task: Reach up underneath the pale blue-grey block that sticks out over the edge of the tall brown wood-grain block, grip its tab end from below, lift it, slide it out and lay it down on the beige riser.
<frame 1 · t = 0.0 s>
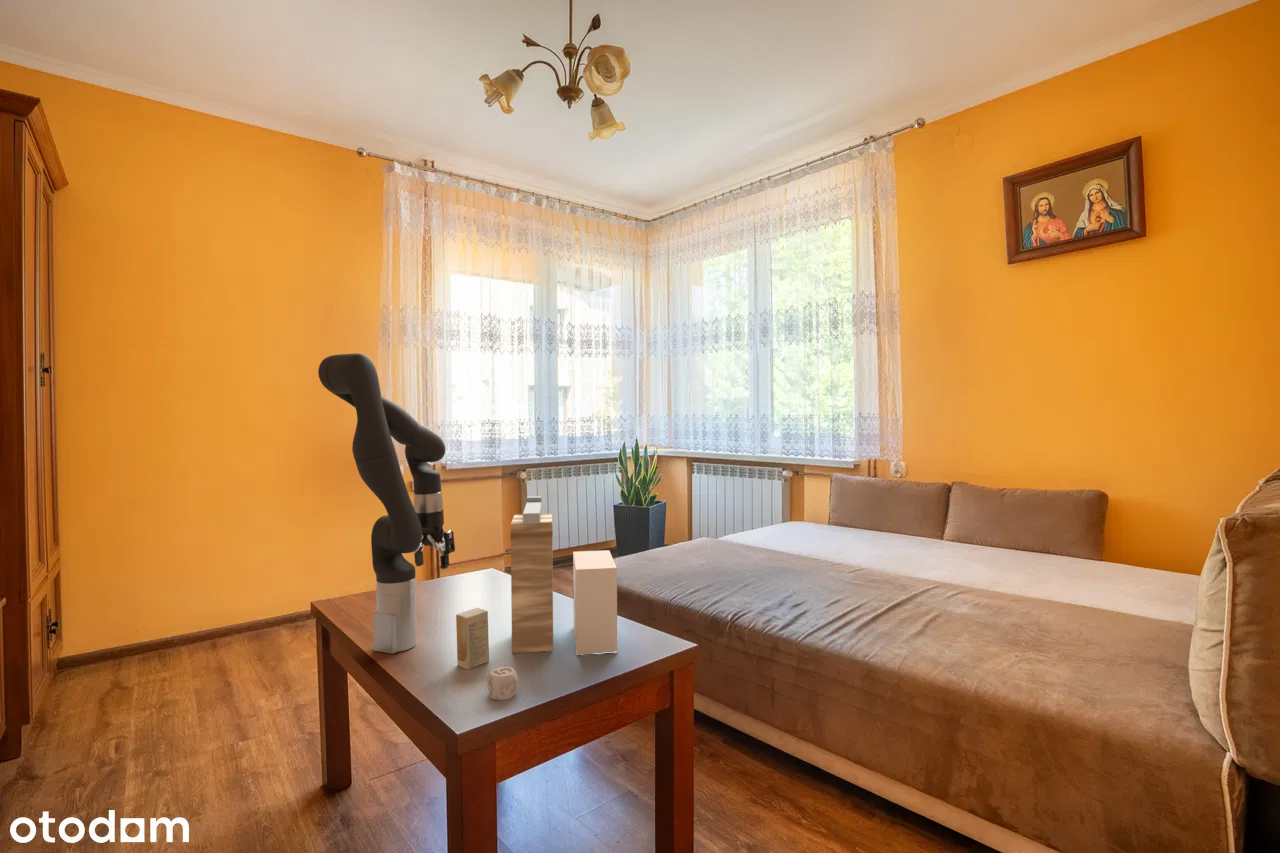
hand: (432, 566, 163), 17 cm above the table, tool pointing down, fingers open, 8 cm apart
beige riser: (594, 639, 155), on the table
tall brown wood-grain block: (533, 641, 154), on the table
skincare box: (472, 664, 140), on the table
die: (502, 696, 124), on the table
pale blue-grey block: (533, 515, 157), point 32 cm above the table, touching tall brown wood-grain block
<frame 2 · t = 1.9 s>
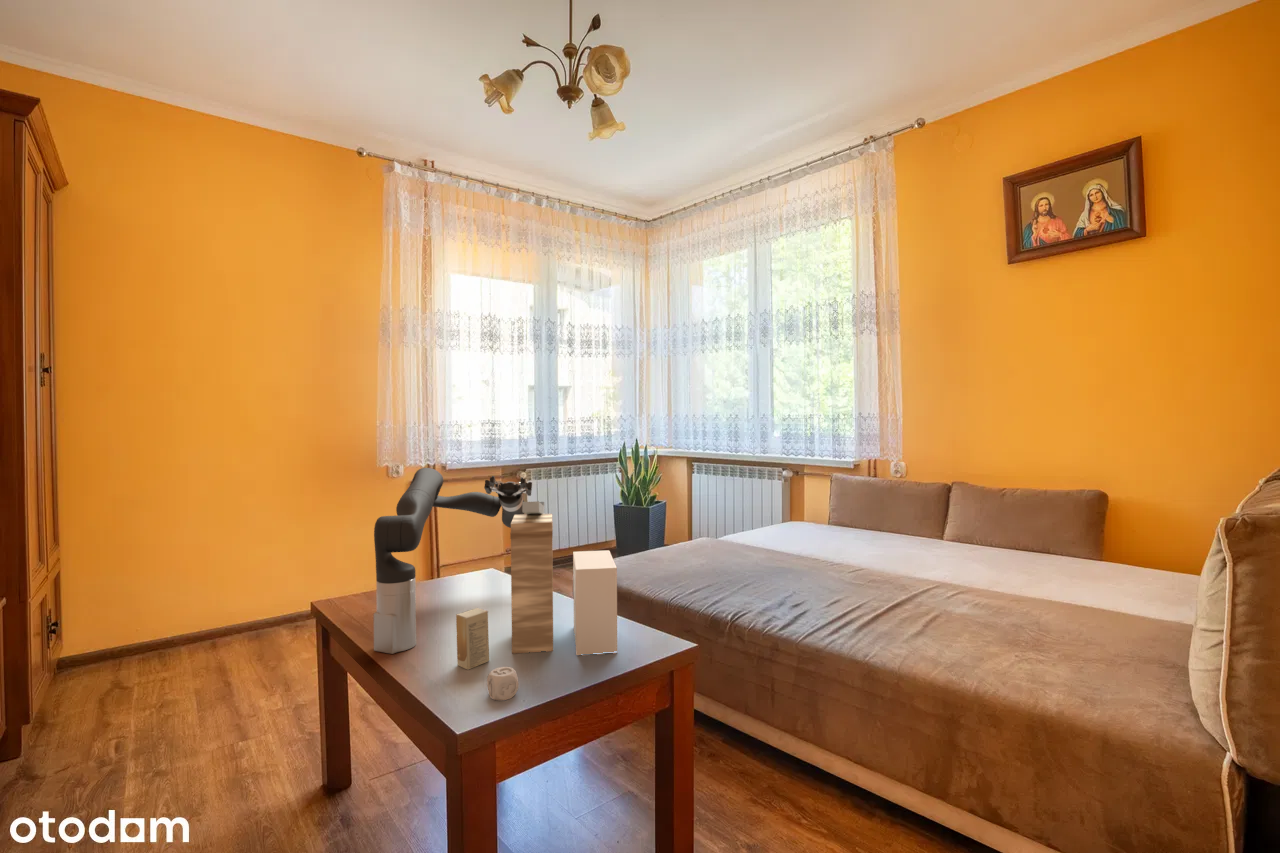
hand: (507, 479, 178), 40 cm above the table, tool pointing upward, fingers open, 8 cm apart
pale blue-grey block: (534, 513, 159), point 32 cm above the table, tilted 11°, touching tall brown wood-grain block
everything else where it was.
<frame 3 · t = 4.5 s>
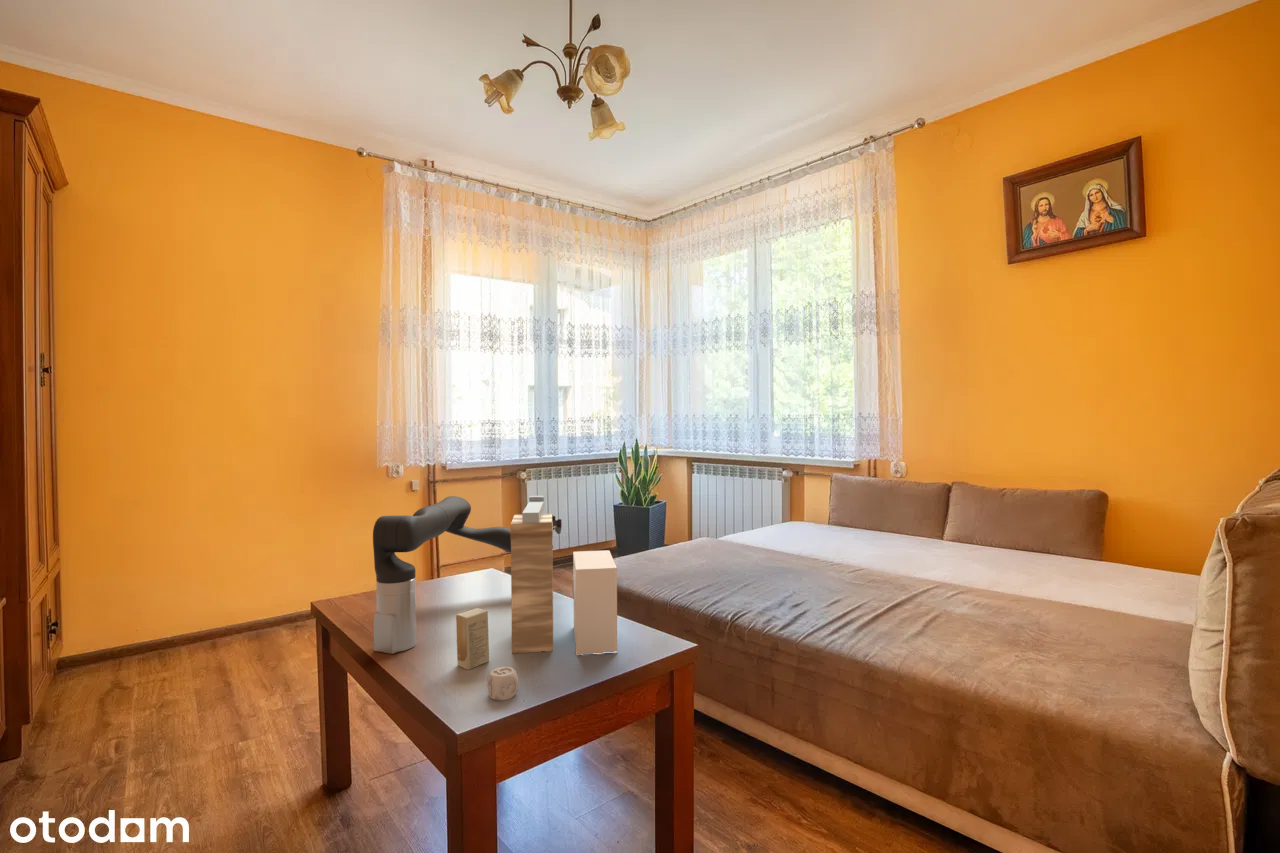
hand: (536, 518, 173), 29 cm above the table, tool pointing upward, fingers open, 8 cm apart
pale blue-grey block: (534, 515, 158), point 32 cm above the table, touching tall brown wood-grain block
everything else where it was.
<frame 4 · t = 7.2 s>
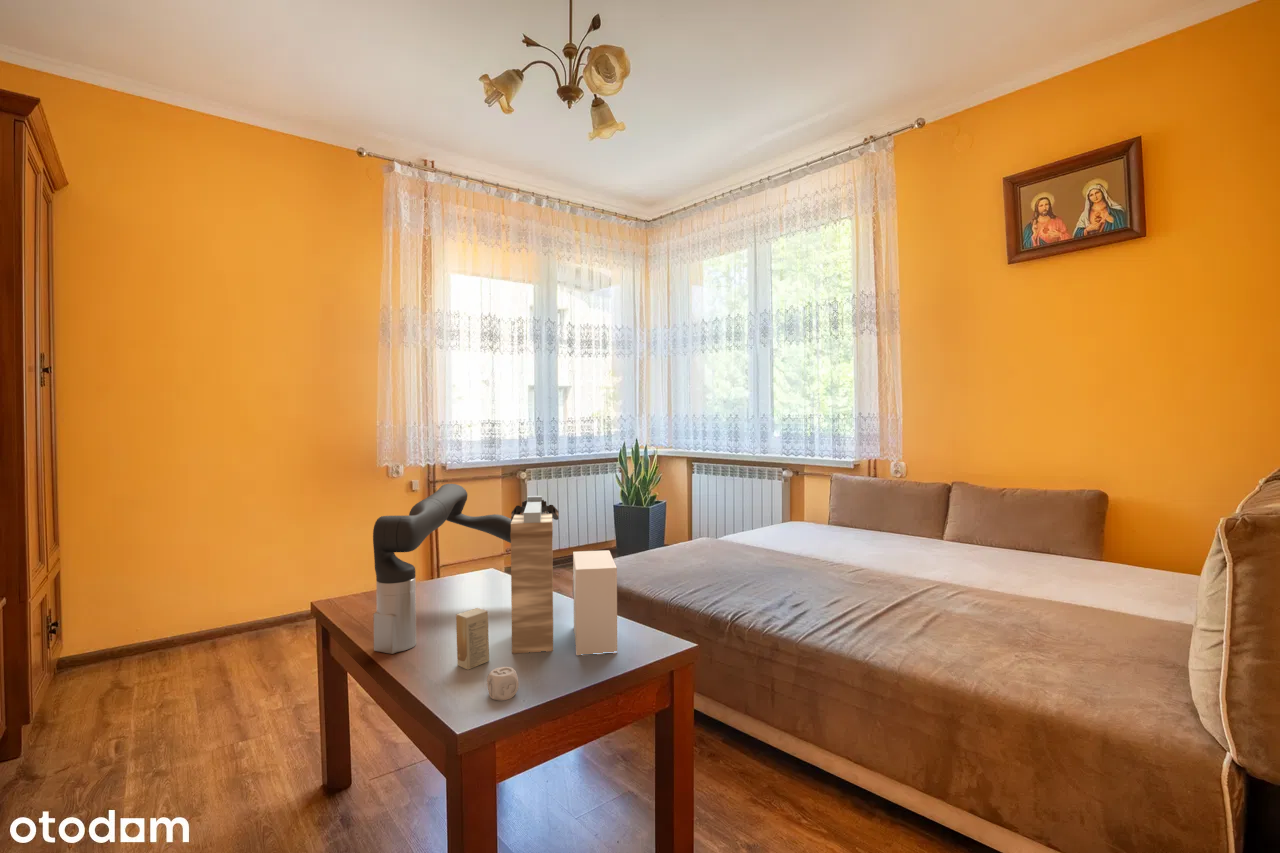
hand: (533, 503, 162), 35 cm above the table, tool pointing upward, fingers closed on pale blue-grey block, 4 cm apart
pale blue-grey block: (533, 515, 158), point 32 cm above the table, touching gripper, tall brown wood-grain block
everything else where it was.
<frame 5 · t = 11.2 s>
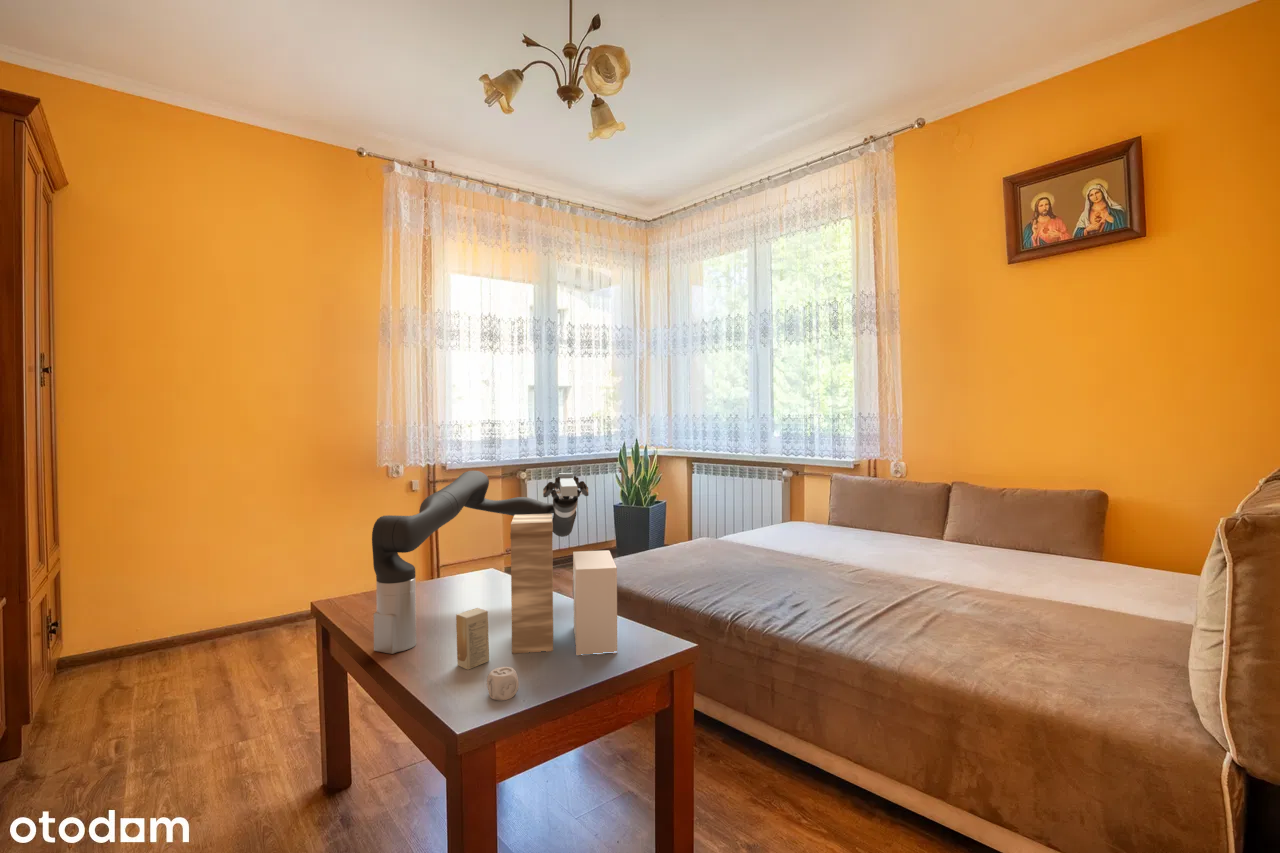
hand: (566, 479, 169), 41 cm above the table, tool pointing upward, fingers closed on pale blue-grey block, 4 cm apart
pale blue-grey block: (567, 490, 165), point 38 cm above the table, touching gripper
everything else where it was.
when the fingers open (25 cm above the table, at t = 15.2 s): pale blue-grey block drops 2 cm, resting on beige riser.
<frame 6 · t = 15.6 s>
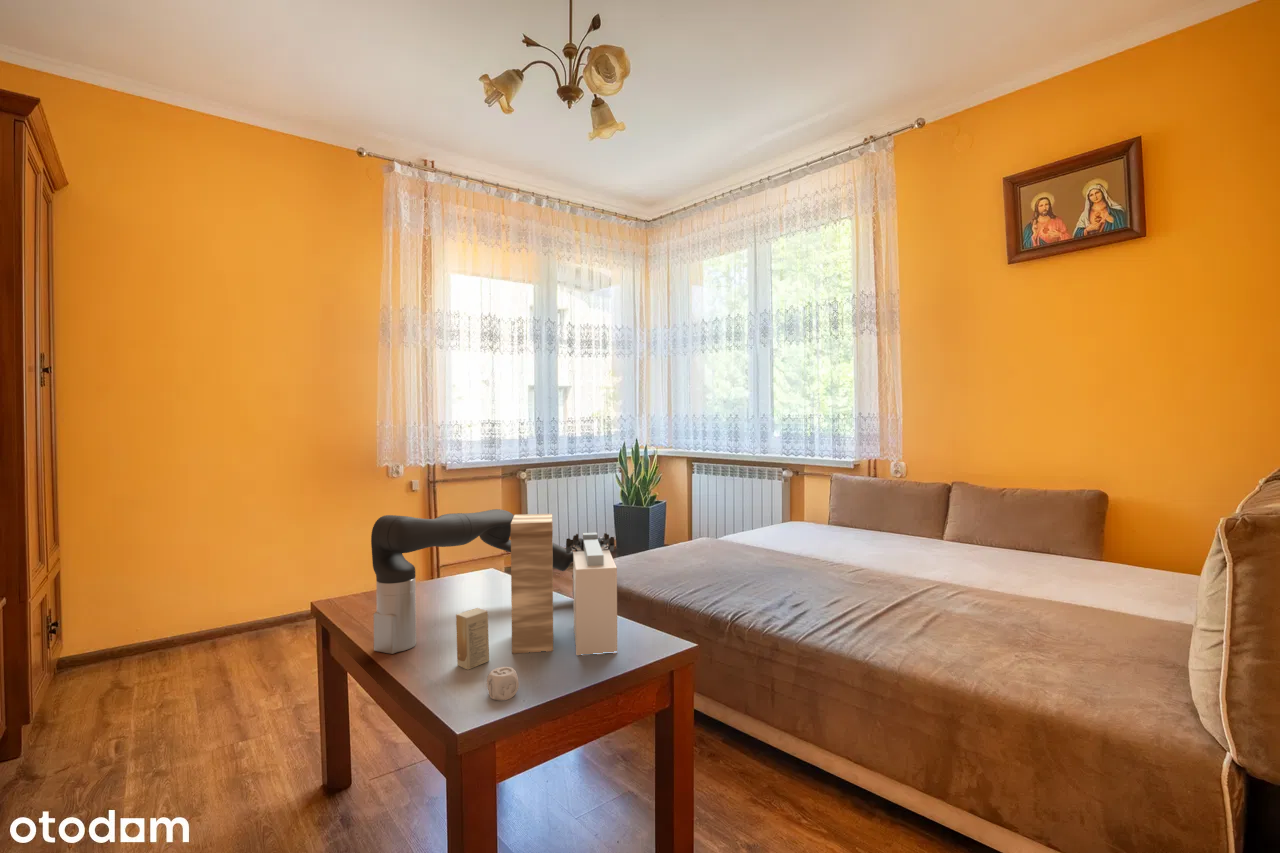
hand: (591, 536, 164), 25 cm above the table, tool pointing upward, fingers open, 7 cm apart
pale blue-grey block: (592, 554, 160), point 21 cm above the table, touching beige riser
everything else where it was.
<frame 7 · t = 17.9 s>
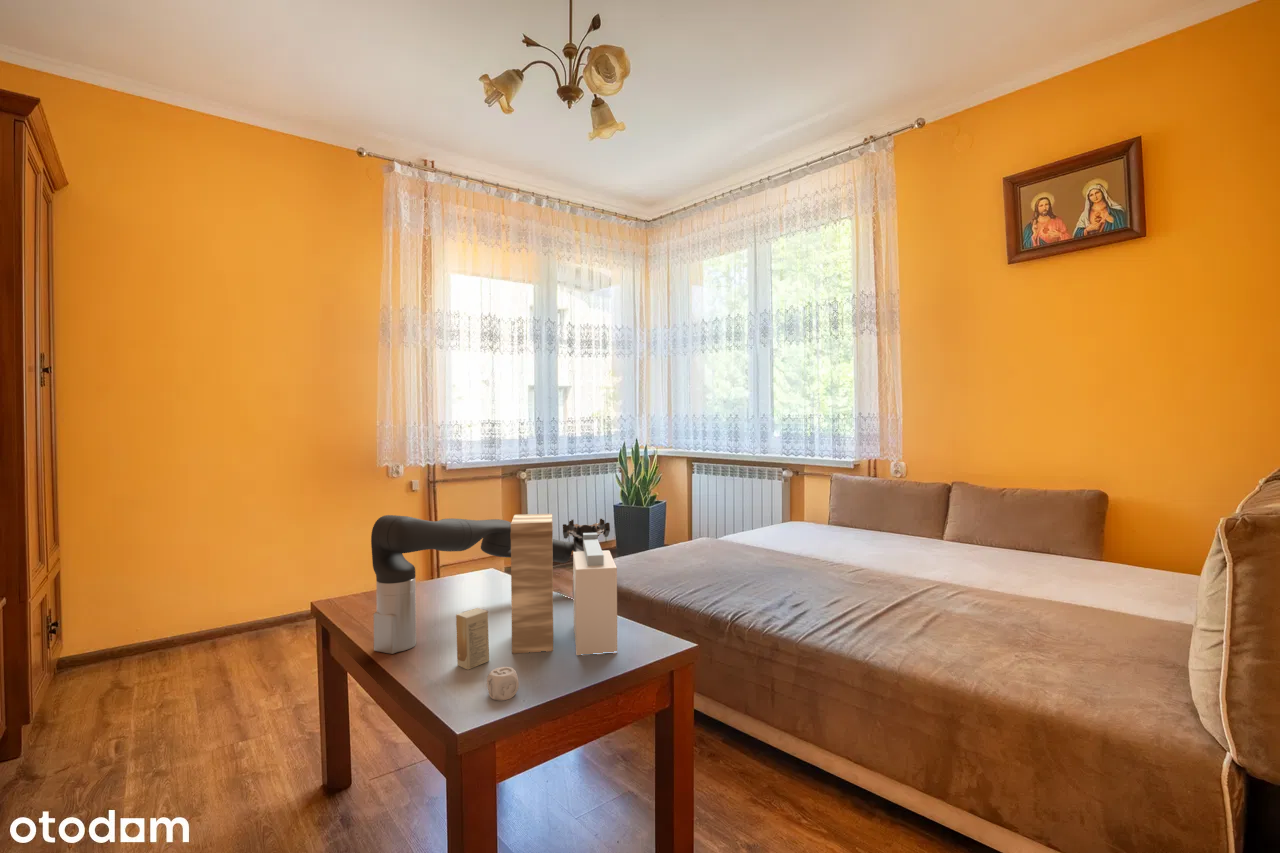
hand: (586, 521, 176), 27 cm above the table, tool pointing upward, fingers open, 8 cm apart
nothing on the table moved.
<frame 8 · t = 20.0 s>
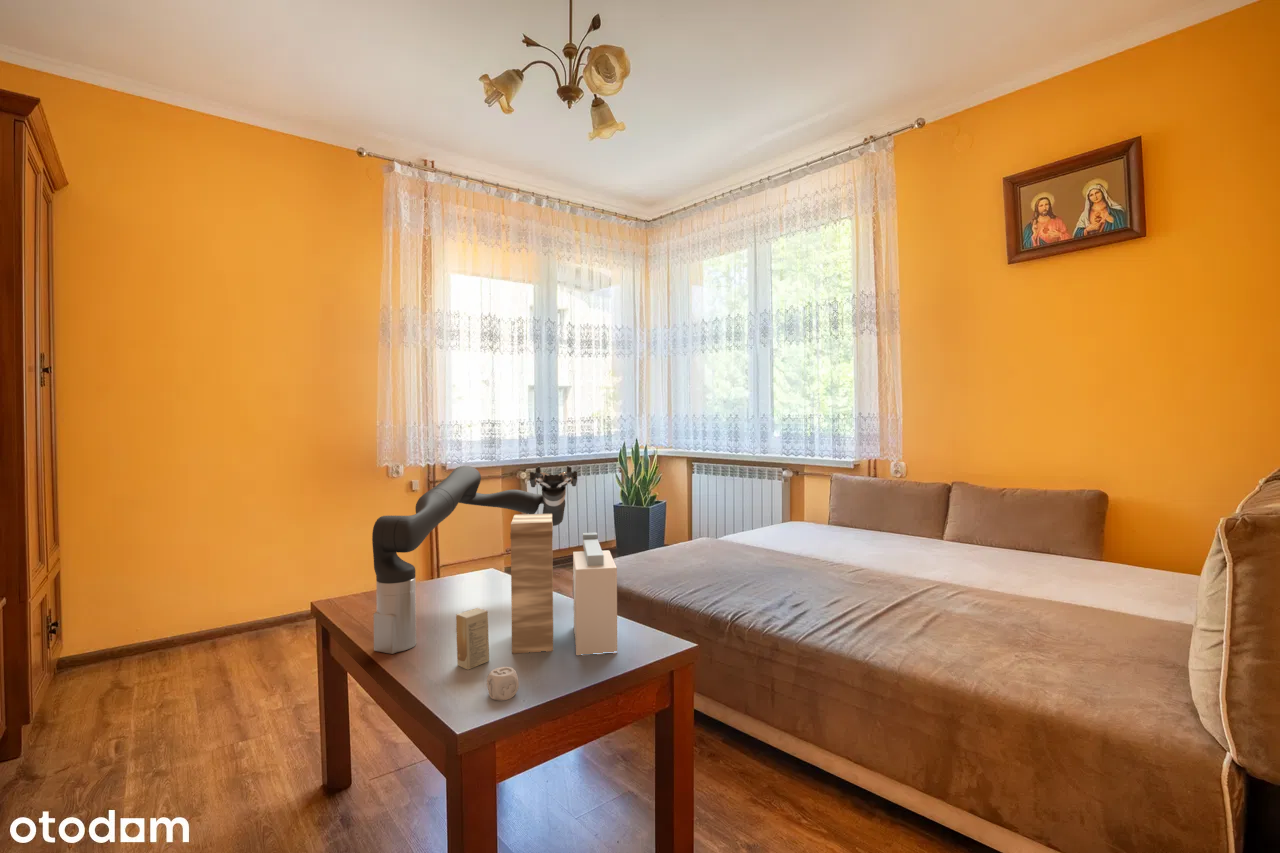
hand: (553, 468, 175), 43 cm above the table, tool pointing upward, fingers open, 8 cm apart
nothing on the table moved.
at the end: pale blue-grey block inside the target area on the beige riser (4.2 cm from its centre), point 21.0 cm above the beige riser's base; pale blue-grey block touching beige riser; the gripper is holding nothing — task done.
